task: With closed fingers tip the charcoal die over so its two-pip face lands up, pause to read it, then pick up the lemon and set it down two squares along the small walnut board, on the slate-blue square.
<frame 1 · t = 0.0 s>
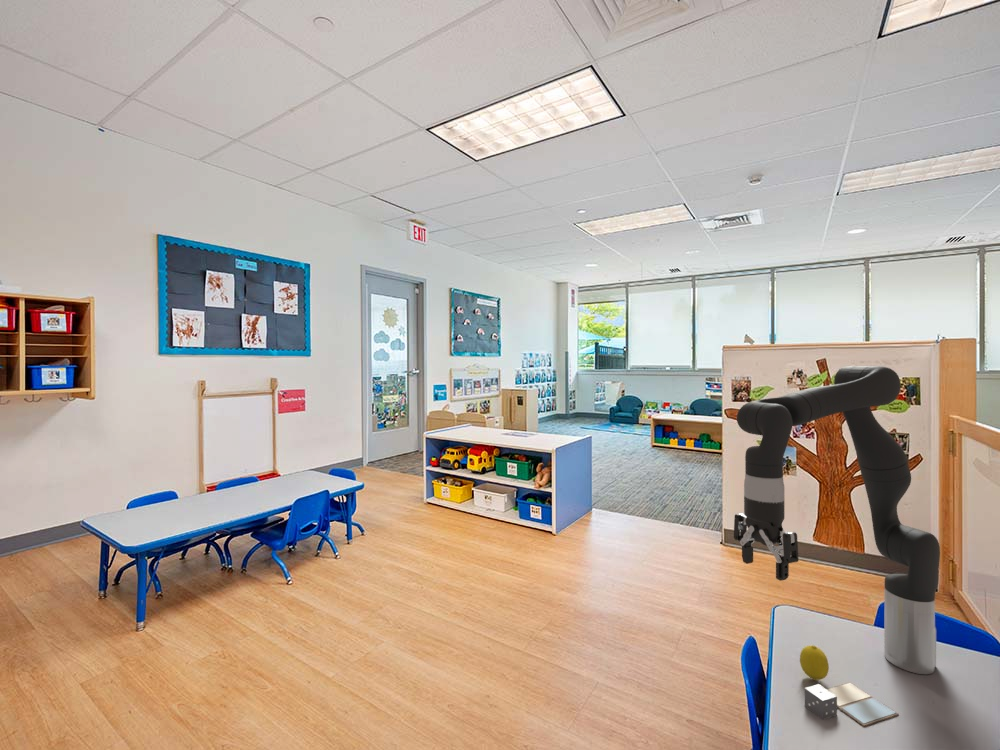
hand: (764, 570, 99), 29 cm above the table, fingers open, 8 cm apart
lemon: (813, 680, 107), on the table
die: (820, 710, 98), on the table
board: (856, 703, 99), on the table
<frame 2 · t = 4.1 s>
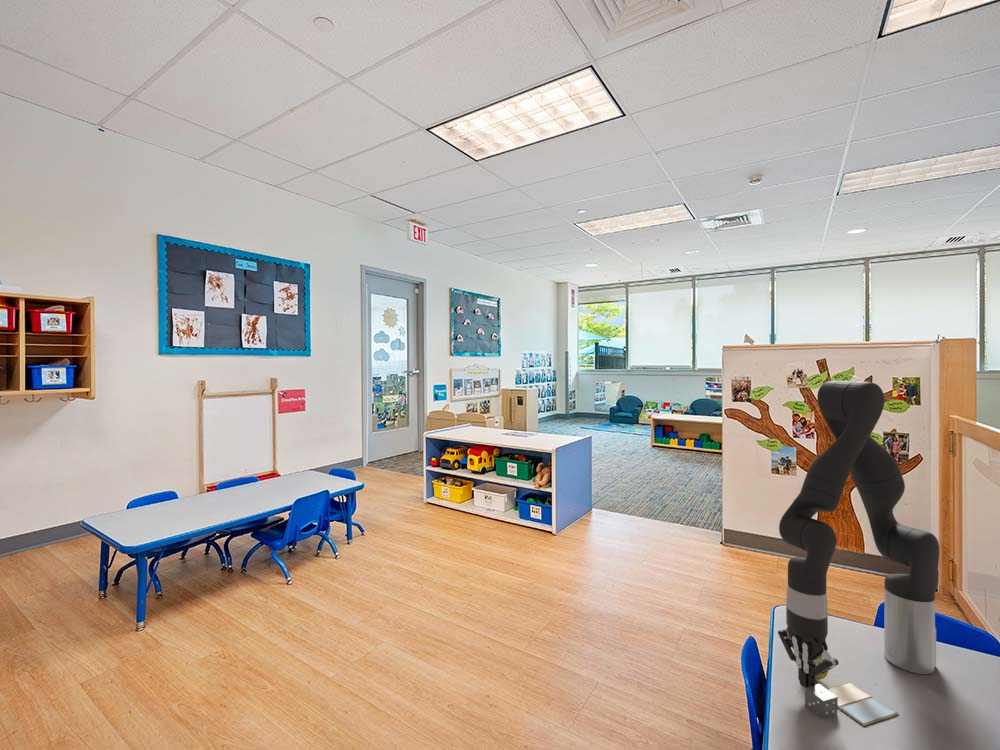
hand: (806, 686, 101), 3 cm above the table, fingers closed
die: (820, 710, 98), on the table, touching gripper
everything else where it was.
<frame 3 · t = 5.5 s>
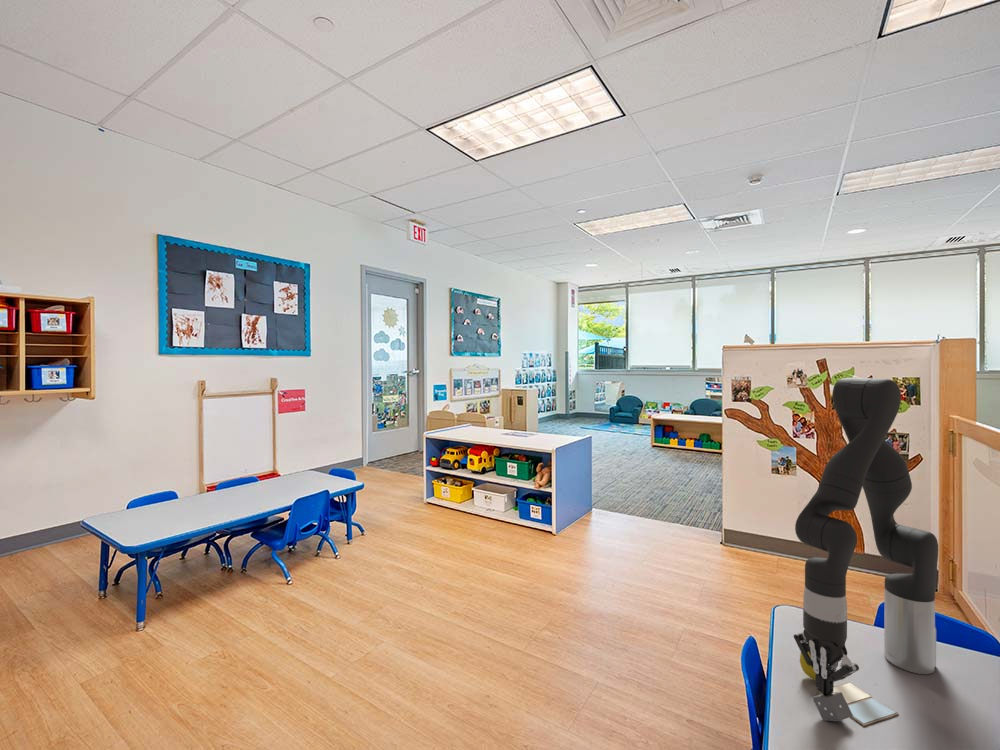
hand: (824, 692, 96), 5 cm above the table, fingers closed
die: (824, 705, 97), point 2 cm above the table, tilted 56°, touching gripper
everything else where it was.
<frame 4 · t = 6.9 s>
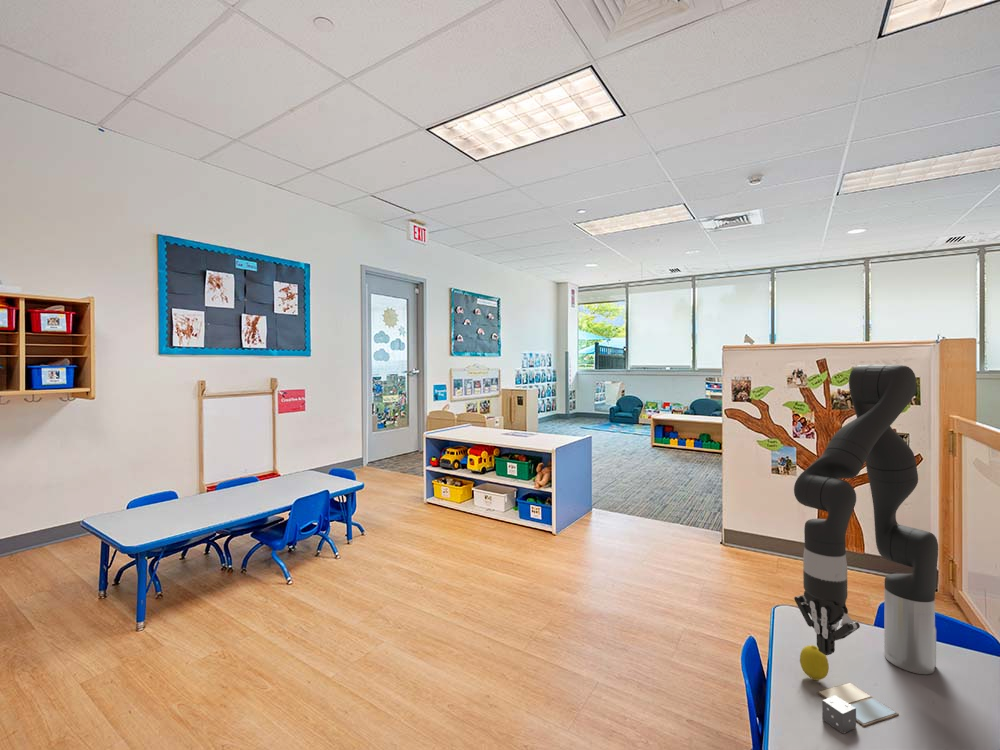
hand: (825, 652, 96), 13 cm above the table, fingers closed
die: (828, 707, 96), point 2 cm above the table, tilted 90°
everything else where it was.
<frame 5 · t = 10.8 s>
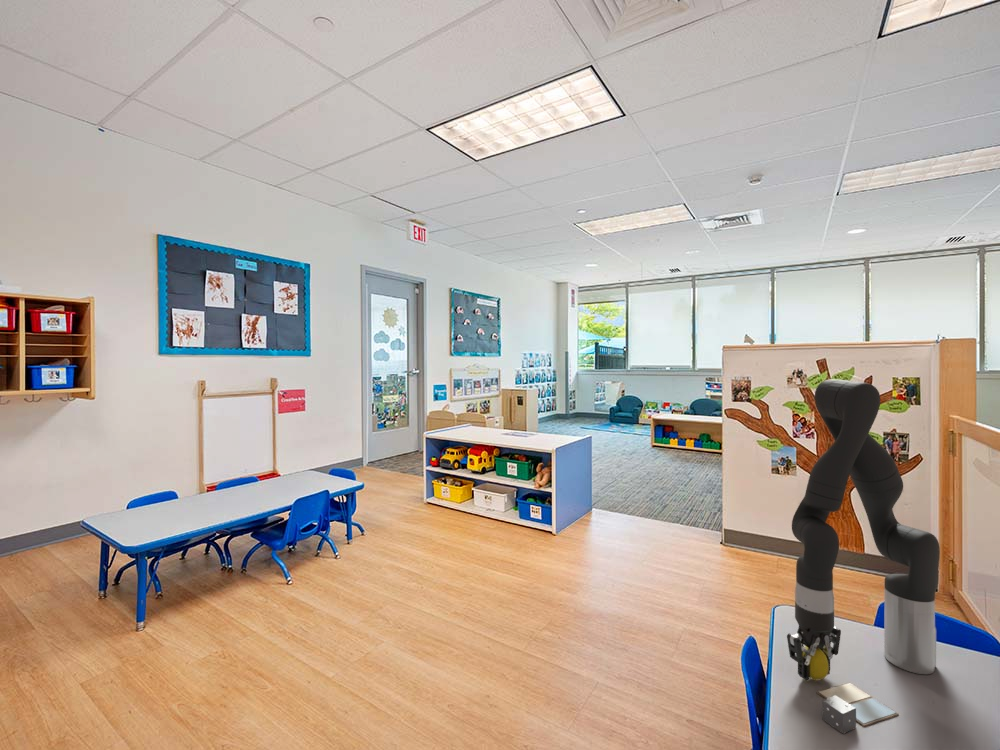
hand: (814, 674, 107), 1 cm above the table, fingers closed on lemon, 5 cm apart
lemon: (813, 680, 107), on the table, touching gripper
everything else where it was.
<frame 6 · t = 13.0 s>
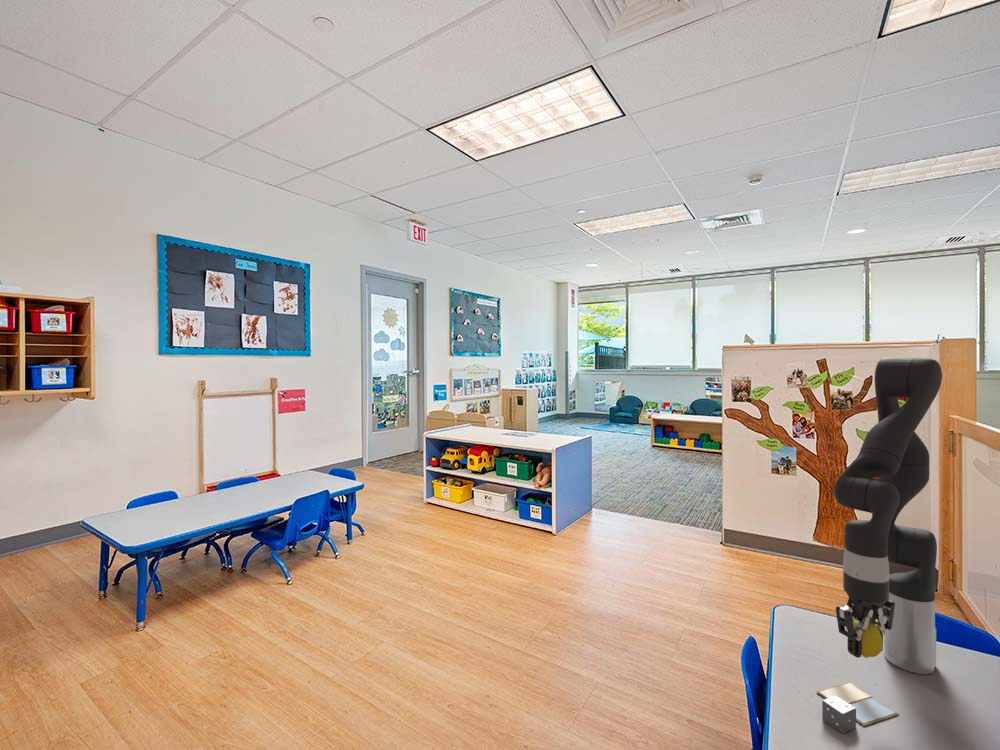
hand: (865, 652, 96), 13 cm above the table, fingers closed on lemon, 5 cm apart
lemon: (865, 658, 96), point 12 cm above the table, touching gripper
everything else where it was.
when the fingers open (3 cm above the table, at t = 15.2 s): lemon drops 1 cm, resting on board.
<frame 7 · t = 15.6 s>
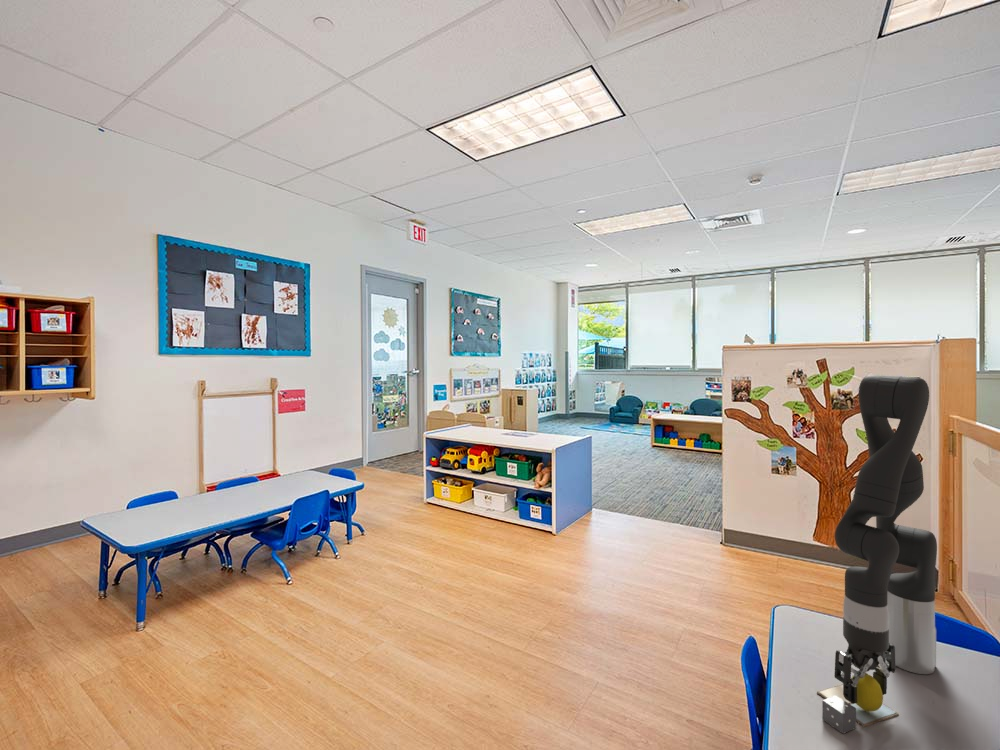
hand: (865, 696, 96), 4 cm above the table, fingers open, 8 cm apart
lemon: (865, 711, 97), resting on board
everything else where it was.
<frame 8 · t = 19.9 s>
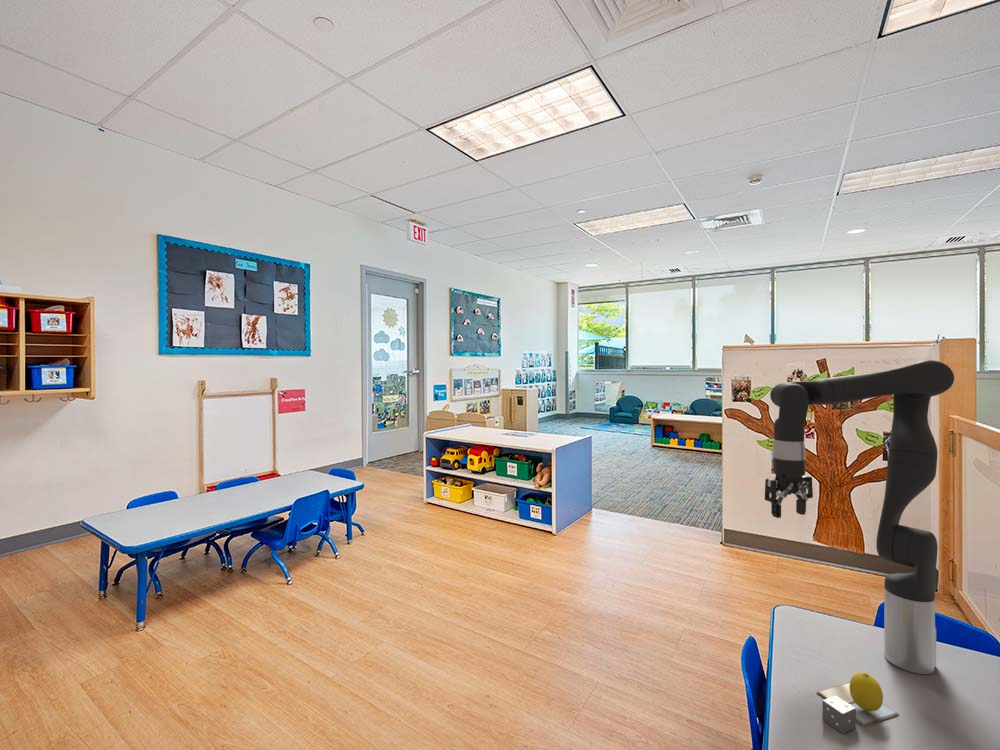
hand: (788, 515, 125), 32 cm above the table, fingers open, 8 cm apart
nothing on the table moved.
at the end: lemon inside the target area (0.9 cm from its centre), resting on board; die tilted 90°; the gripper is holding nothing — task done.
